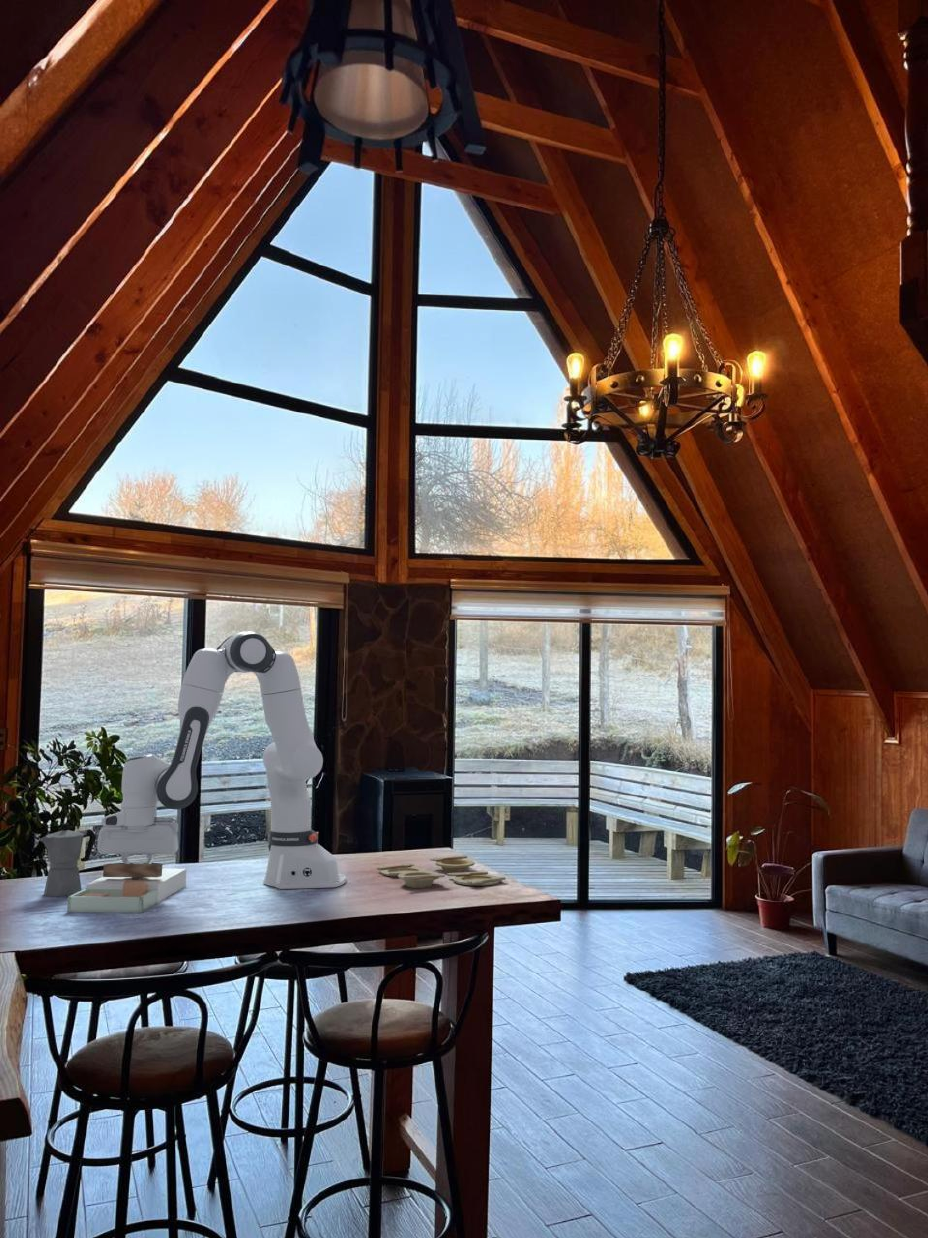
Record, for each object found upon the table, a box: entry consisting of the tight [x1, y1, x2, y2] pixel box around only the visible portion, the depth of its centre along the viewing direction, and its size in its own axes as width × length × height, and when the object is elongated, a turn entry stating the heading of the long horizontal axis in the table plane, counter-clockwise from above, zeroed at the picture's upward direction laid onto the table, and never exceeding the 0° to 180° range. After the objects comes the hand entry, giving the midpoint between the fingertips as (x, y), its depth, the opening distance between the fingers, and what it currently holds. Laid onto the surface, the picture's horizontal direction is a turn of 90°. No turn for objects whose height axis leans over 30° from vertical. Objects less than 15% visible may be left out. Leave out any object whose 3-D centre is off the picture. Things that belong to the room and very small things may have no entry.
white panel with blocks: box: [85, 868, 187, 904], centre depth 241 cm, size 18×21×4 cm
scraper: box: [102, 860, 163, 877], centre depth 240 cm, size 14×11×3 cm
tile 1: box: [123, 881, 147, 897], centre depth 228 cm, size 5×5×2 cm
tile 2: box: [83, 893, 109, 897], centre depth 224 cm, size 5×5×2 cm
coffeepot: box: [39, 822, 97, 898], centre depth 242 cm, size 15×9×18 cm, turn 144°
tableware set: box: [376, 855, 507, 889], centre depth 263 cm, size 35×29×4 cm
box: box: [66, 887, 158, 914], centre depth 225 cm, size 18×10×4 cm, turn 88°
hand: (137, 871), depth 239 cm, fingers closed on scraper, 3 cm apart
